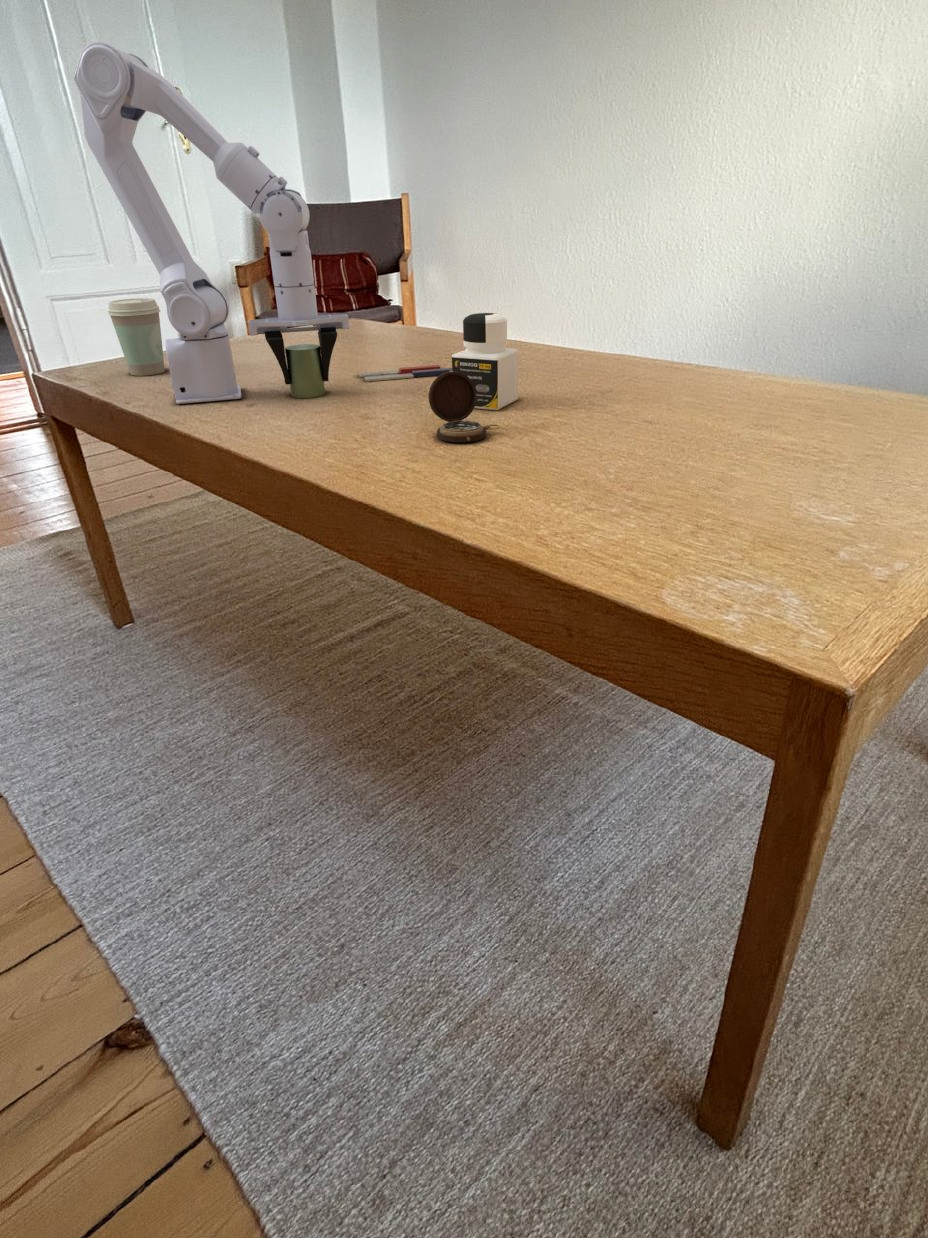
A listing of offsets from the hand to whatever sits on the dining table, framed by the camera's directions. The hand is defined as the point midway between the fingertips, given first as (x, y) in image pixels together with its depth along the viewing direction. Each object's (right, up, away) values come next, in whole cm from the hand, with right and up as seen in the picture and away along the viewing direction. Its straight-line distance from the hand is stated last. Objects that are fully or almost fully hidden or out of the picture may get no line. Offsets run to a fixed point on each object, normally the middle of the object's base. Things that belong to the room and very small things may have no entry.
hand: (306, 381), depth 115 cm
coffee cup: (-33, +8, +20) cm, 39 cm away
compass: (+25, -14, -21) cm, 35 cm away
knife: (+15, +4, +10) cm, 19 cm away
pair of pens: (+14, +6, +13) cm, 20 cm away
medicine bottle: (+27, -6, -7) cm, 29 cm away
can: (0, -2, +1) cm, 2 cm away
